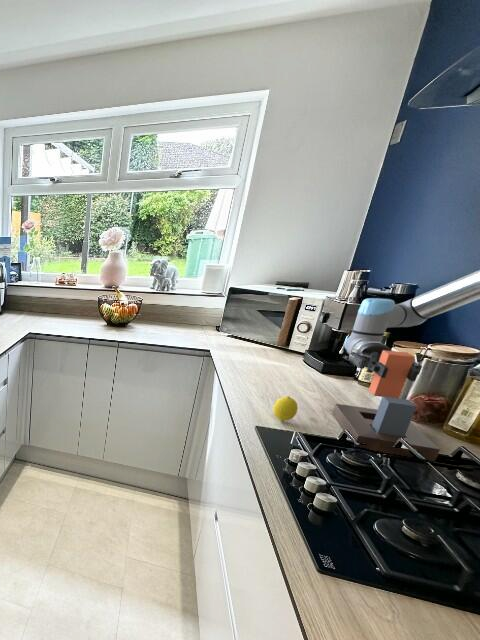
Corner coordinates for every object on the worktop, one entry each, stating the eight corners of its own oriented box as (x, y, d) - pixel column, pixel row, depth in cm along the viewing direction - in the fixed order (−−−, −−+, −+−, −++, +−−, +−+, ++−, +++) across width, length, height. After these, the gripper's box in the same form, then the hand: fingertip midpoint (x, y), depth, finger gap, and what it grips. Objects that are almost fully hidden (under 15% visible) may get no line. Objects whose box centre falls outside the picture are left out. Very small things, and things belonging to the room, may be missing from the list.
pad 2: (392, 440, 107) (408, 399, 103) (399, 448, 103) (416, 406, 99) (367, 436, 110) (382, 396, 106) (373, 444, 106) (389, 402, 101)
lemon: (279, 416, 123) (285, 392, 120) (297, 423, 118) (305, 398, 115) (265, 418, 121) (272, 394, 119) (284, 426, 116) (291, 400, 114)
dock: (397, 423, 117) (401, 412, 116) (434, 462, 97) (440, 449, 96) (331, 413, 124) (335, 403, 123) (354, 447, 104) (358, 435, 103)
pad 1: (392, 393, 112) (407, 352, 108) (398, 399, 108) (415, 356, 104) (368, 390, 114) (382, 350, 110) (373, 395, 110) (388, 354, 106)
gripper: (408, 369, 120) (443, 393, 101) (330, 361, 129) (349, 382, 110) (417, 345, 118) (455, 365, 99) (337, 338, 126) (358, 356, 108)
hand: (399, 374), depth 104 cm, fingers closed on pad 1, 5 cm apart
